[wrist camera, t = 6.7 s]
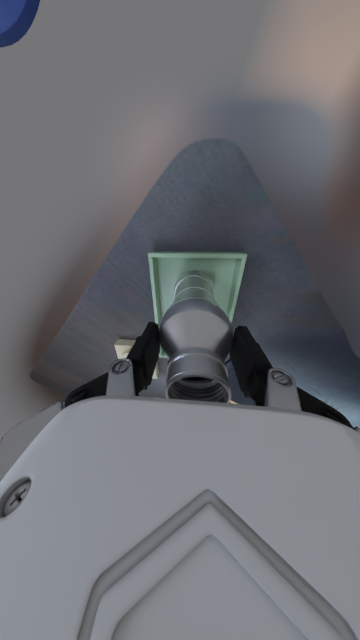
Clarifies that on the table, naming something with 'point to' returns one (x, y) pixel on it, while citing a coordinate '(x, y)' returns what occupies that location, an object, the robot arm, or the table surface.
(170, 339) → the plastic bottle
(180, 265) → the tray
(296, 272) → the table surface
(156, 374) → the control block
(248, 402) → the wallet
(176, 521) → the robot arm
